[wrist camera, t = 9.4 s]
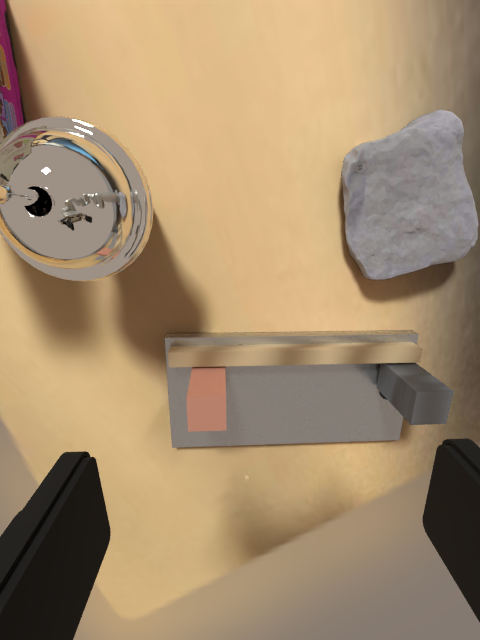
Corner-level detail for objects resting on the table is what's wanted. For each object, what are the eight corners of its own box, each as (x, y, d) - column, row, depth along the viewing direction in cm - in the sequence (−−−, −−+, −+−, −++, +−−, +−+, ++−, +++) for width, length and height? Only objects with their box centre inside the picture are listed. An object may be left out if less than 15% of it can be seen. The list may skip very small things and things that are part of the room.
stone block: (353, 283, 32) (462, 247, 30) (364, 296, 28) (493, 255, 25) (318, 161, 29) (436, 110, 27) (323, 154, 25) (466, 91, 22)
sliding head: (225, 363, 30) (226, 396, 24) (225, 400, 31) (226, 441, 26) (192, 363, 30) (186, 397, 24) (194, 401, 31) (188, 442, 25)
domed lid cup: (191, 241, 28) (129, 289, 9) (96, 276, 29) (-153, 390, 10) (151, 138, 26) (-50, -97, 7) (47, 177, 26) (-425, 65, 7)
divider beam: (412, 342, 31) (458, 371, 25) (402, 394, 33) (443, 434, 27) (170, 346, 30) (157, 378, 24) (174, 400, 31) (163, 443, 25)
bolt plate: (411, 330, 32) (419, 334, 31) (393, 432, 35) (399, 440, 34) (166, 333, 31) (164, 338, 29) (173, 439, 34) (171, 448, 33)
